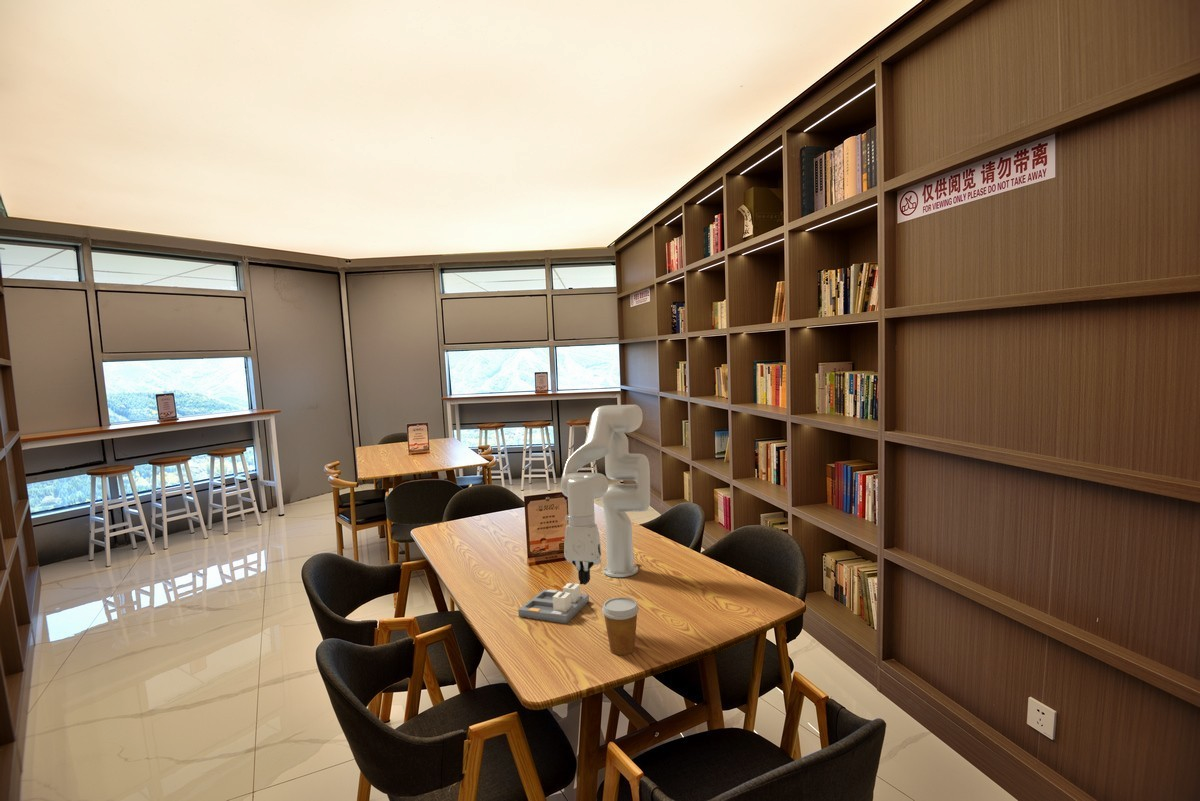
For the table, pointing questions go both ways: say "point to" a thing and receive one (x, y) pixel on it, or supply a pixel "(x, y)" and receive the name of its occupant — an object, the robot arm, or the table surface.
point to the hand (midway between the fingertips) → (584, 582)
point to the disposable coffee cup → (621, 624)
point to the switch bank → (550, 607)
